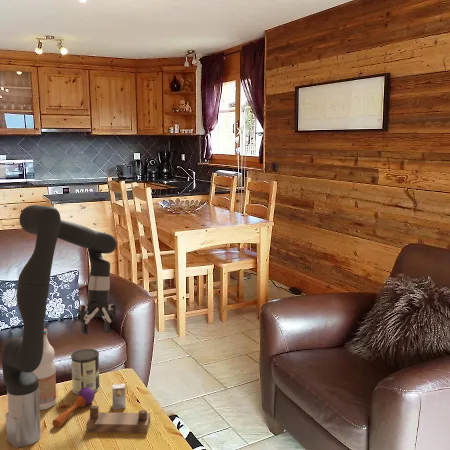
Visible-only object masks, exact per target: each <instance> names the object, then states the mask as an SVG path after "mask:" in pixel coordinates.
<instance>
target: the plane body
mask: <svg viewBox="0 0 450 450" xmlns="http://www.w3.org/2000/svg"><path fill="white" fill-rule="evenodd" d="M150 423H151V413H150V412H149V413H148V411H147V410H146V409H141V410H138V412H108V411H107V412H101V411H100V412H99V405H90V407H89V417H88V420H87V421H86V424H85V425H86V427H85V428H86V433H110V434H111V433H112V434H113V433H116V434H119V433H120V434H121V433H123V434H132V433H133V434H148V432H149V428H150Z"/></svg>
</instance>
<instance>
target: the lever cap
mask: <svg viewBox="0 0 450 450" xmlns="http://www.w3.org/2000/svg"><path fill="white" fill-rule="evenodd" d="M111 386H112V387H111V389H112V390H111V391H112V393H111V394H112V395H111V397H112V402H111V403H112V410H120V409H126V384H125V383H117V384H112V385H111Z"/></svg>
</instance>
